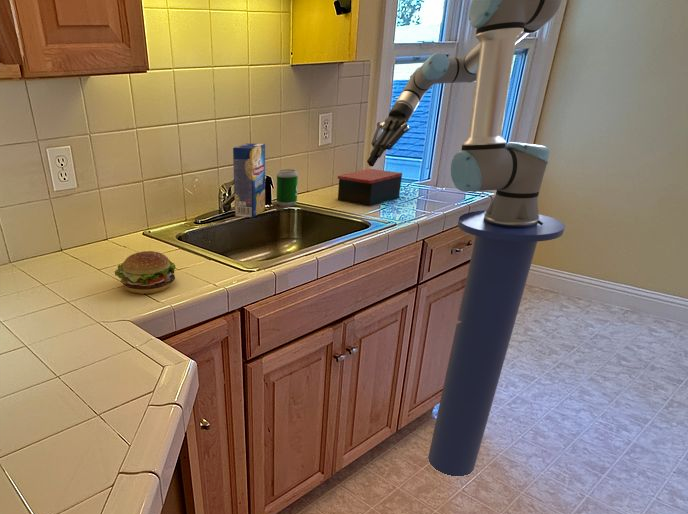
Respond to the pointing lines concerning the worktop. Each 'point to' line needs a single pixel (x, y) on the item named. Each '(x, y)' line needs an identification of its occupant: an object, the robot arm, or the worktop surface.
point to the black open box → (369, 191)
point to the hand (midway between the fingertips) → (370, 163)
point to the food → (146, 272)
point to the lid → (369, 176)
